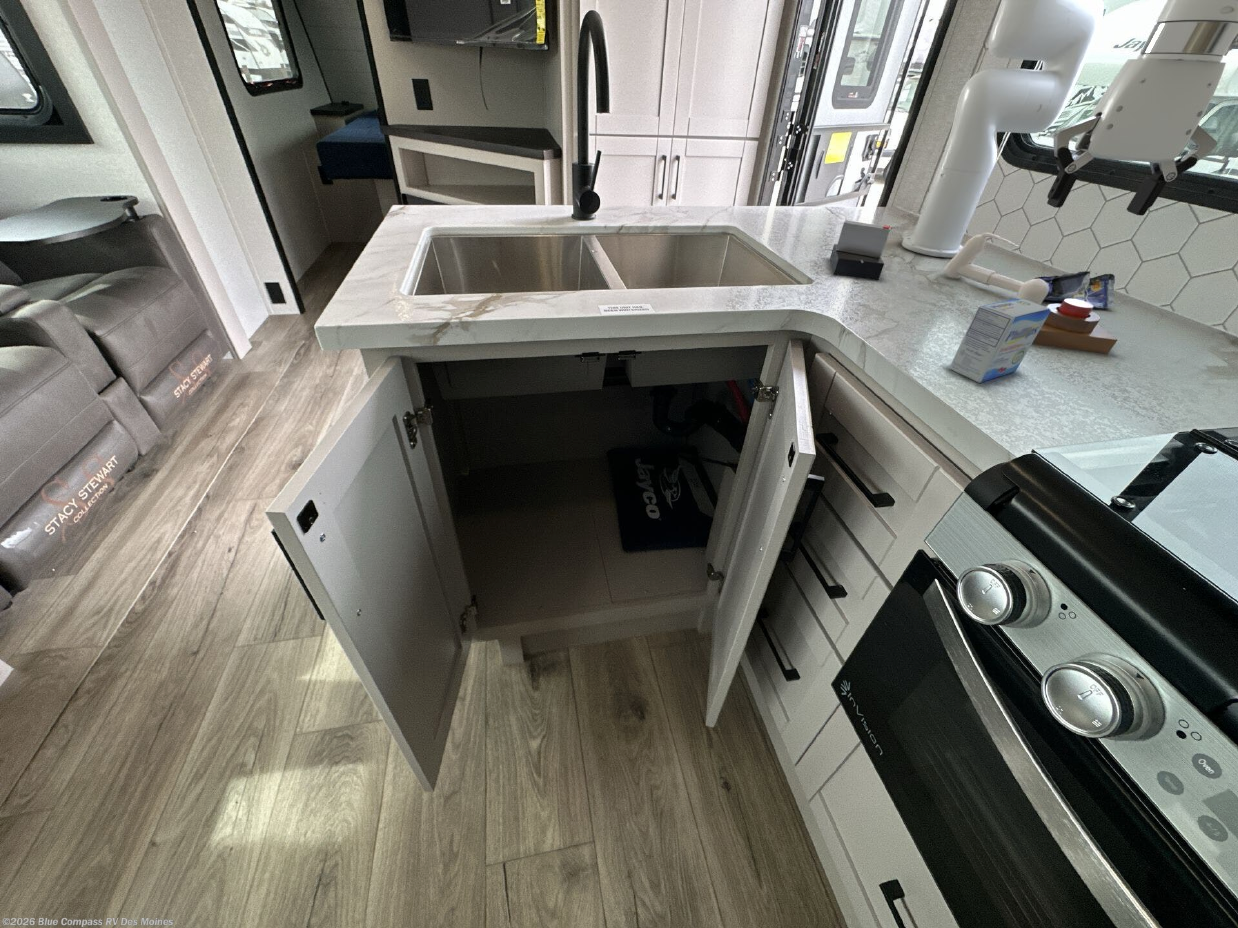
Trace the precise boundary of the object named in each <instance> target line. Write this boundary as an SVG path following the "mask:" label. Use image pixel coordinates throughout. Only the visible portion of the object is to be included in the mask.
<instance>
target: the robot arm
mask: <svg viewBox="0 0 1238 928" xmlns="http://www.w3.org/2000/svg"><path fill="white" fill-rule="evenodd" d="M1103 15H1104V0H1001V1H1000V4H999V7H998V10H997V13H996V16H995V19H994V20H993V24H992V28H991V31H990V34H989V38H988V52H989V54H991V55H992V56H994V57H996V58H1001V59H1006V60H1007V59H1008V60H1021V61H1038V62H1039V61H1040V62H1042V68H1041V69H1027V68H1014V67H992V68H987V69H983V70H981V71H978V72H977V73H975V74H973V75H972V76H971V77H969V79H968V80H967V81H966V83H965V84H964V85H963V87H962V89H961V92H960V94H959V96H958V100H957V103H956V104H957V105H956V108H955V113H954V117H953V122H952V126H951V130H950V133H949V136H948V139H947V143H946V146H945V148H944V151H943V154H942V156H941V160H940V162H939V164H938V168H937V170H936V173H935V175H934V178H933V181H932V183H931V186H930V188H929V191H928V193H927V197H926V200H925V202H924V205H923V207H922V210H921V212H920V215H919V218H918V220H917V223H916V226H915V228H914V231H913V233H912V236H906V237H904V238H903V239H902V241H901V245H902V247H903V248H904V249H906V250H909V251H911V252H914V253H917V254H921V255H926V256H931V257H937V258H951V259H952V258H953V257H954V256H955V255H956V254H957V253H958V252H959V251H960V250H961V249H962V248H963V246H964V245H962V244H961V243H962V240H963V238H964V237H965V233H966V231H967V229H968V226H969V225H970V223H971V220H972V218H973V216H974V213H975V211H976V209H977V207H978V204H979V202H980V200H981V197H982V195H983V192H984V190H985V188H986V186H987V184H988V181H989V179H990V177H991V175H992V172H993V169H994V167H995V166H996V163H997V157H998V149H997V144H996V140H995V133H1013V134H1015V133H1017V134H1037V133H1042V132H1044V131H1046V130H1047V129H1049V128H1050V127H1051V126H1053V125H1054V124H1055V123H1056V121H1057V120H1058V119H1059V117H1060V115H1062V112H1064V109H1065V108H1066V105H1067V104H1068V101H1069V99H1070V97H1071V94H1072V93H1073V90H1074V89H1075V88H1074V87H1075V86H1076V82H1077V80H1078V78H1079V76H1080V75H1081V71H1082V69H1083V67H1084V65H1085V63H1086V60H1087V58H1088V55H1089V53H1090V50H1091V49H1092V46H1093V44H1094V41H1095V39H1096V37H1097V34H1098V32H1099V29H1100V26H1101V23H1102V20H1103ZM1233 50H1234V51H1235V50H1236V51H1238V0H1166V3H1165V4H1164V6H1163V8H1162V10H1161V12H1160V14H1159V15H1158V18H1157V19H1156V21H1155V24H1154V25H1153V26H1152V29H1151V31H1150V32H1149V35H1148V37H1147V38H1146V40H1145V43H1144V44H1143V46H1142V48H1141V50H1140V52H1139V54H1138V56H1137V57H1136V58H1132V59H1131V58H1130V59H1127V60H1126V61H1125V63H1123V65H1122V67H1121V68H1120V69H1119V71H1118V73H1117V74H1116V75H1115V76H1114V78H1113V79H1112V81H1111V83H1110V84H1109V85H1108V87H1107V89H1106V90H1105V91H1104V93H1103V95H1102V96H1101V98H1100V99H1099V101H1098V103H1097V104H1096V106H1095V108H1094V109H1093V111H1092V113H1091V114H1090V116H1089V117H1088V118H1086V119H1083V120H1080V121H1077V122H1075V123H1073V124H1070V125H1067V126H1064V127H1062V128H1059V129H1057V130H1056V131H1055V132H1054V133H1053V152H1052V156H1053V158H1054V160H1055V163H1056V165H1057V168H1056V169H1057V170H1058V173H1057V176H1056V178H1055V179H1054V182H1053V183H1052V185H1051V187H1050V189H1049V191H1048V193H1047V200H1046V201H1047V202H1046V204H1047V205H1049V206H1051V207H1053V208H1056V209H1057V208H1058V209H1059V208H1062V207H1063V206H1064V204H1065V203H1066V200H1067V198H1068V197H1069V195H1070V193H1071V191H1072V189H1073V187H1074V185H1075V183H1076V181H1077V180H1078V177H1079V175H1078V174H1077V171H1078V170H1079V169H1080V168H1082V167H1083V166H1085V165H1086V164H1088V163H1089V162H1091V161H1092V160H1094V159H1095V158H1098V159H1104V160H1117V161H1127V162H1128V161H1129V162H1141V163H1149V167H1150V171H1151V176H1150V177H1146V178H1144V179H1143V181H1142V182H1141V184H1140V185H1139V187H1138V189H1137V191H1136V192H1135V194H1134V195H1133V197H1132V199H1131V200H1130V202H1129V203H1128V206H1127V207H1126V211H1127V212H1129V213H1131V214H1133V215H1136V216H1144V215H1146V213H1147V211H1148V209H1150V208H1152V207H1153V206H1154V204H1155V202H1156V201H1157V199H1158V198H1159V196H1160V194H1161V193H1162V191H1163V190H1164V188H1165V187H1166V185H1167V183H1168V182H1172V181H1173V180H1175V179H1176V178H1177V177H1178V176H1179V175H1181V174H1184V172H1187V171H1188V170H1190V169H1192V168H1193V167H1195V166H1196V164H1198V162H1199V161H1201V160H1202V159H1204V157H1206V156H1207V155H1208V154H1210V153H1211V152H1212V151H1213V150H1214V149H1215V148H1216V147H1217V145H1218V141H1217V140H1216V138H1214V137H1212V135H1210V133H1208V132H1207V131H1206V130H1205V129H1204V128H1202V127H1201V126H1200V125H1199V124H1200V122H1201V121H1202V119H1203V117H1204V115H1205V113H1206V111H1207V109H1208V107H1209V105H1210V103H1211V100H1212V99H1213V97H1214V95H1215V93H1216V90H1217V88H1218V86H1219V83H1220V81H1221V78H1222V76H1223V73H1224V70H1225V67H1226V65H1227V64H1226V63H1227V62H1223V59H1224V57H1226V56H1227V55H1228V53H1229V52H1231V51H1233ZM1076 136H1078V138H1077V140H1076V142H1075V145H1074V149H1075V151H1074V152H1073V153H1072V152H1071V150H1070V147H1069V145H1070V141H1071V139H1072V138H1074V137H1076ZM1188 143H1189V144H1191V145H1192V147H1191V149H1190V150H1189V151H1187V153H1186V154H1185V155H1183V156H1181V157H1179V155H1180V154H1181V153H1182V151H1184V149H1185V147H1186V146H1187V144H1188ZM1177 157H1179V158H1177ZM1176 158H1177V159H1176ZM1175 159H1176V160H1175Z"/></svg>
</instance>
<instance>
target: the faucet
mask: <svg viewBox="0 0 1238 928" xmlns="http://www.w3.org/2000/svg"><path fill="white" fill-rule="evenodd" d="M987 238H990V239H991V238H992V239H995V240H1000V241H1002V242H1005V243H1007V244H1009V245H1011V246H1013V247H1015V248H1019V247H1020V246H1019V244H1016V243H1014V242H1012V241H1010V240H1008V239H1006V238H1004V237H1002V236H999V235H997V234H995V233H992V232H983V233H982V234H981V233H979V234H975V235H973V237H971V238H969V239H968V240H967V241H966V243H964V245H962V246H963V248H962V249H961V250H960V251H959V252H958V253H957V254H956V255H955V256H954V257H952V258H951V260H949V262H948V263H947V264H946V266H945V267H944V268H943V270H944V273H945V274H946V275H947V276H949V277H950V278H953V279H960V278H962V277H964V278H966V279H969V280H971V281H974V282H977V283H980V284H982V285H985V286H988V287H989V286H992V287H993V286H994V287H998V288H1000V289H1004V290H1008V291H1011V292H1014V293H1017V295H1016V298H1019V299H1024V300H1027V301H1031V302H1034V303H1037V304H1039V305H1042V303H1043V302H1044V301H1045V299H1044V298H1045V297H1046V296H1047V294H1048V291H1049V287H1048V284H1047V283H1046V282H1045V281H1044V280H1042V279H1035V278H1033V279H1029V280H1027V281H1025V282H1023V281H1020V280H1018V279H1014V278H1011V277H1008V276H1005V275H1002V274H999V273H998V272H997V271H996V270H992V269H989V268H987V267H986V268H985V267H982V266H979V265H976V264H974V263H973V262H974V261H975V259H976V258H977V257H978V255H979V254H980V253H981V252H982V251H983V250H984V248H985V247H986V244H987V240H988V239H987Z"/></svg>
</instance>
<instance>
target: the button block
mask: <svg viewBox="0 0 1238 928" xmlns="http://www.w3.org/2000/svg"><path fill="white" fill-rule="evenodd" d="M1061 304H1062V303H1048V304H1047V305H1046V307H1047V308H1049V309H1050V310H1051V312H1050V313H1049V315H1048V317H1047V318H1046V320H1045V322H1044V324H1043V325H1042V327H1041V329H1040V330H1039V332H1038V334H1037V336H1036V337H1035V339H1034V341H1033V343H1032V344H1031V345H1037V346H1044V347H1045V346H1046V347H1053V348H1059V349H1060V348H1061V349H1068V350H1075V351H1081V352H1090V353H1091V352H1092V353H1098V354H1104V355H1105V354H1106V355H1108V354H1109V353H1110V352H1111V350H1112V349H1113V348H1114V346H1115V345H1116V343H1117V342H1118V339H1117V338H1116V337H1115V336H1114V335H1113V334H1111V333H1110V332H1109V331H1107V330H1106V329H1105V328H1104V327H1102V326H1101V325H1100V324H1099V322H1100V321H1101V318H1102V317H1100V315H1098V314H1097V313H1096V312H1094V311H1091V312H1090V314H1089V315H1088V317H1087V318H1079V317H1073V316H1069V315H1066V314H1063V313H1061V312H1059V311H1058V309H1059V307H1060V306H1061Z"/></svg>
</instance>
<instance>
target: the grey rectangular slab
mask: <svg viewBox="0 0 1238 928" xmlns="http://www.w3.org/2000/svg"><path fill="white" fill-rule="evenodd" d="M891 229H892V227H891V225H888V224H884V225H879V224H872V223H867V222H860V221H853V220H848V219H846V220H844V222H843V224H842V227H841V230H840V234H839V237H838V240H837V243H836V244H837V247H836V250H837V251H842V252H848V253H853V254H859V255H864V256H870V257H875V258H880V257H881V258H882V255H883V252H884V250H885V246H886V244H887V240H888V238H889V234H890V232H891Z"/></svg>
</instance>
